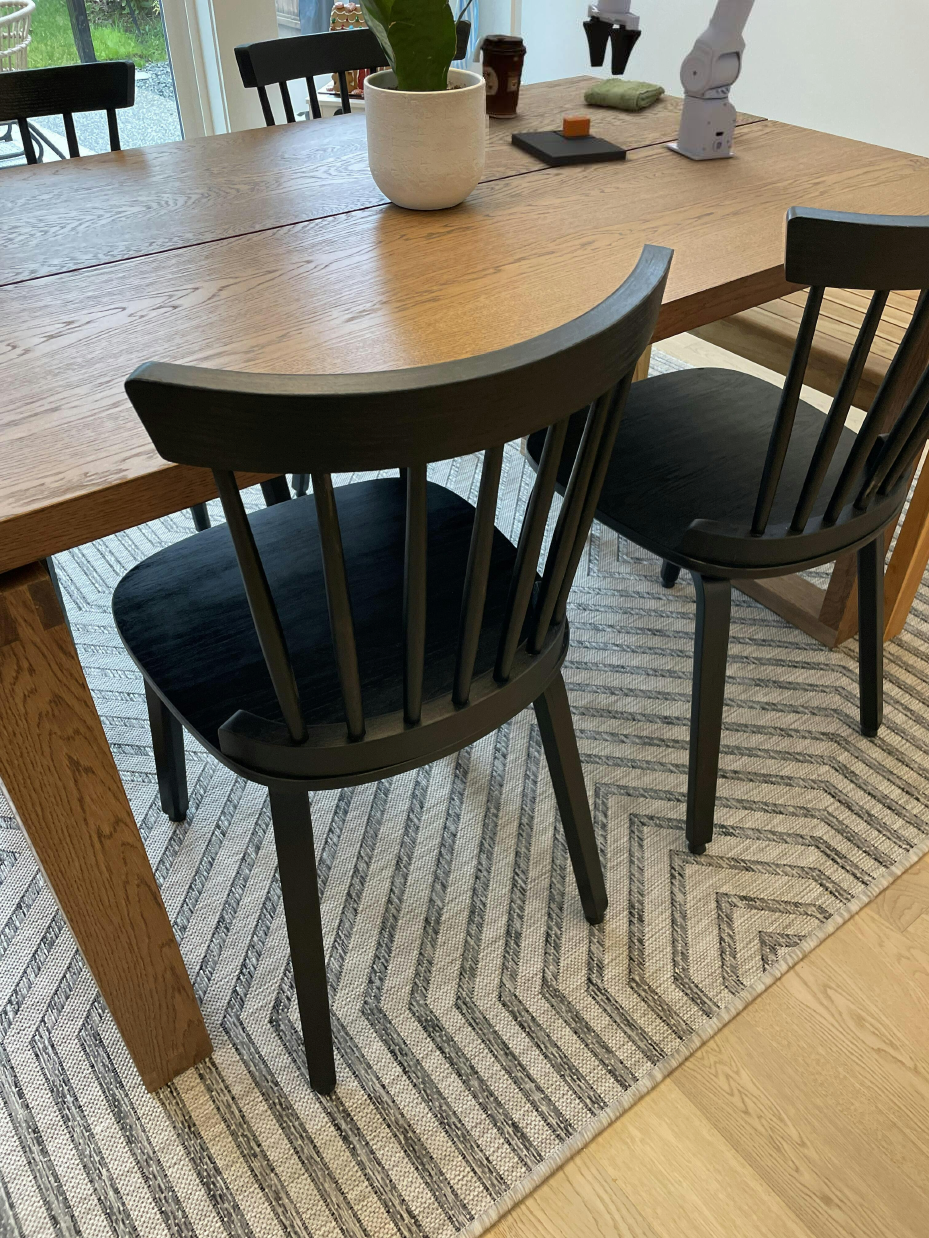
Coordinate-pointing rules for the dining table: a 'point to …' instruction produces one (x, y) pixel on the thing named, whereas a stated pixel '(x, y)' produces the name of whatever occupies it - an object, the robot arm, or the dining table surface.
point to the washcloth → (623, 93)
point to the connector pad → (576, 128)
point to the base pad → (567, 148)
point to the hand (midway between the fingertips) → (606, 70)
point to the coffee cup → (502, 73)
